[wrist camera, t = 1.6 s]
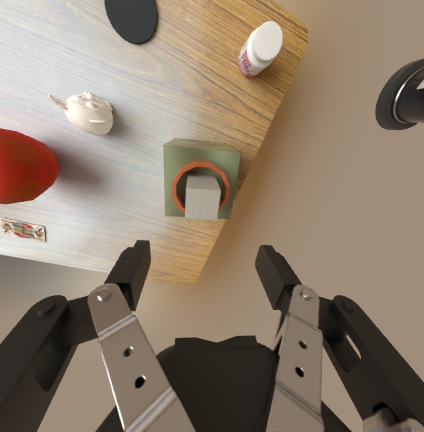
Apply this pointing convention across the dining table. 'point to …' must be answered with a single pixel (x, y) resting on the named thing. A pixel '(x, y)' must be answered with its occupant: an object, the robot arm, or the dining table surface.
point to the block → (202, 197)
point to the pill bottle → (260, 49)
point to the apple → (24, 167)
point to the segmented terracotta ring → (199, 163)
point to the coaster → (132, 19)
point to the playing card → (22, 229)
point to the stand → (198, 169)
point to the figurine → (87, 113)
